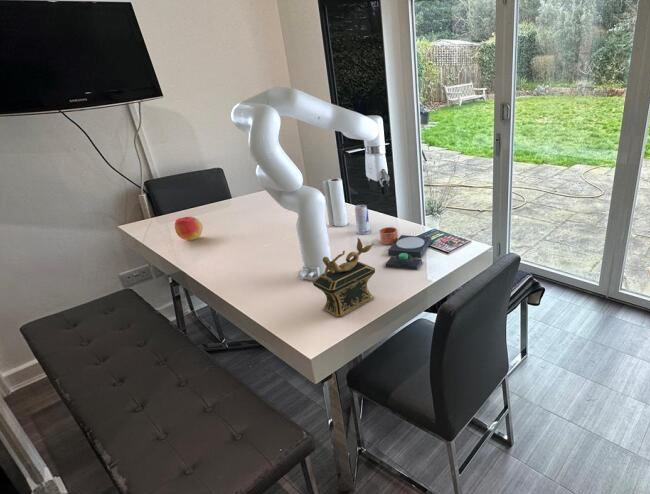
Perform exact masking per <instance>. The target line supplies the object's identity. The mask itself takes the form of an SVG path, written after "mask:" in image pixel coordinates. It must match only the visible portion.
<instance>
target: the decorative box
mask: <svg viewBox="0 0 650 494" xmlns="http://www.w3.org/2000/svg"><path fill="white" fill-rule="evenodd" d="M374 245H375V244H374V243H372V244H368V245H365V246H363V243H362V241H361V239H360V237H357V243H356V251H357V252H356V251H350V252H349V253H348V254H347V255H346V258H345V261H346V262H343V263H341V264H337V263H336V261H337V260H338V259H339V258H341V257H342V256H344V255H345V253H346V250H345V249H344V250H343V251H342V253H340V254H338V255H337V256H336V257H334V258H333V259H332V261H330V260H329V258H328V257H324V258H323V262H324V263H325V265H326V268H325V273H323V274H321V275H320V276H319V277H318V278H316V279H315V280H312V284H313V286H314V287H315V288H317V289H319V290H320V291H321V292H323V293H324V295H325V298H326V301H325V305H324V307H323V310H325V311H326V312H328V313H330V314H332V315H333V316H335V317H343V316H345V315H346V314H348V313H350V312H352V311H353V310H355V309H357V308H359V307H360V306H362V305H364V304H366V303H367V302H369V301H371V300H373V294H371V292H370V290H369V288H368V282H369V280H370V279H371V278H372V277H373V275H374V274H376V268H375V267H374V266H370V265H368V264H367V263H363V262H360V261H359V259H360V255H361V254H364V253H367V252H368V251H370V250H371V249H372V248H373V246H374ZM328 270H330V271H328Z"/></svg>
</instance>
